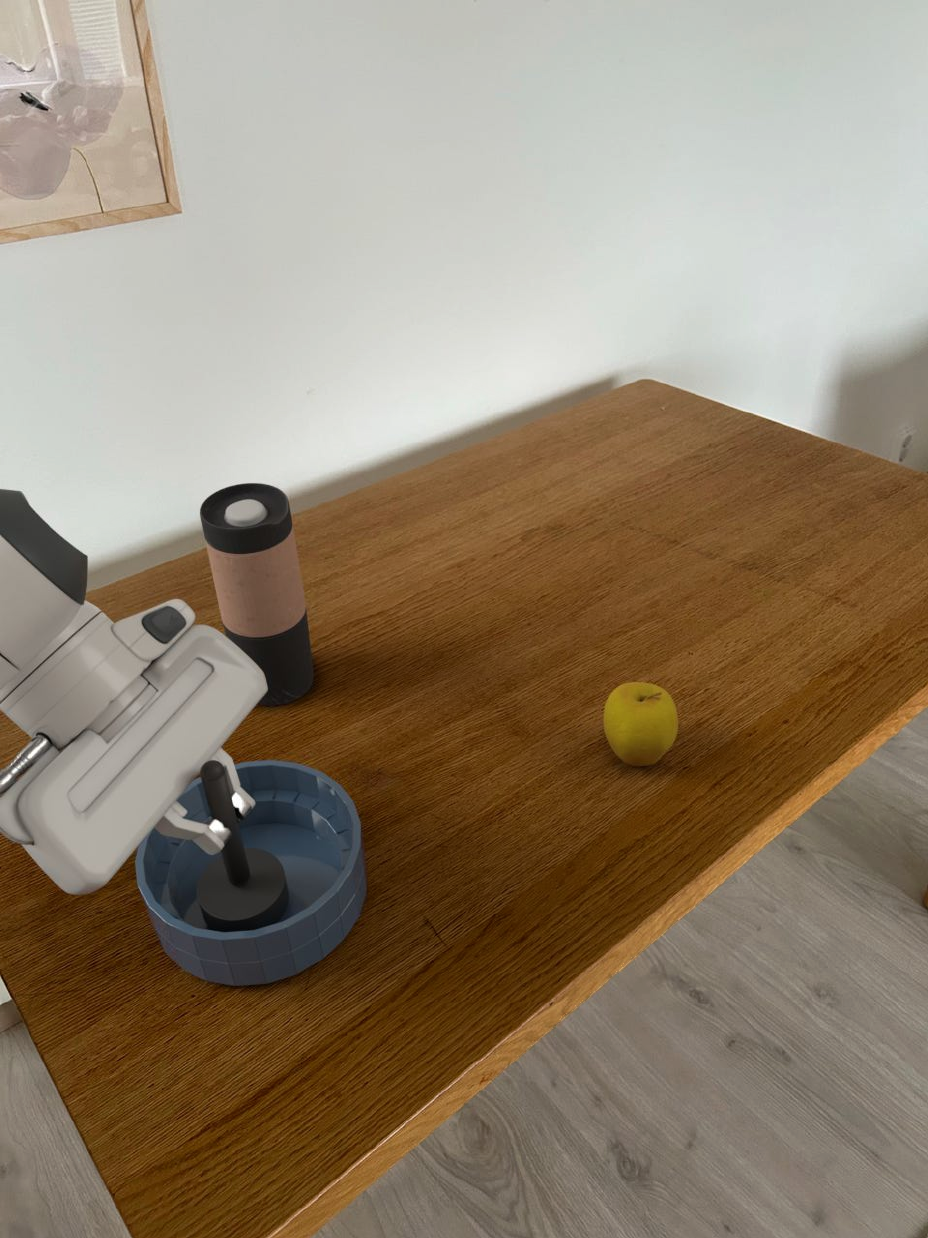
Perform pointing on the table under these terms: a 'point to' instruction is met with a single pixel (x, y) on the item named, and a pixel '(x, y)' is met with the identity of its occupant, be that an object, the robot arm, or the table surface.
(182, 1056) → the table surface
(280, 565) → the travel mug
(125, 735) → the robot arm
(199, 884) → the joystick
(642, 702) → the yellow fruit
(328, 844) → the bowl
